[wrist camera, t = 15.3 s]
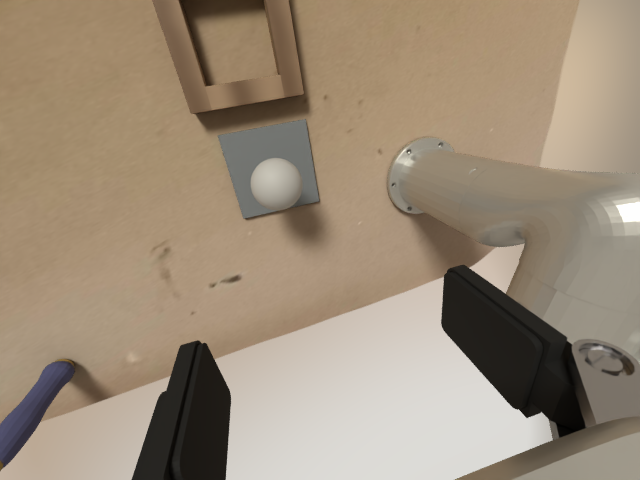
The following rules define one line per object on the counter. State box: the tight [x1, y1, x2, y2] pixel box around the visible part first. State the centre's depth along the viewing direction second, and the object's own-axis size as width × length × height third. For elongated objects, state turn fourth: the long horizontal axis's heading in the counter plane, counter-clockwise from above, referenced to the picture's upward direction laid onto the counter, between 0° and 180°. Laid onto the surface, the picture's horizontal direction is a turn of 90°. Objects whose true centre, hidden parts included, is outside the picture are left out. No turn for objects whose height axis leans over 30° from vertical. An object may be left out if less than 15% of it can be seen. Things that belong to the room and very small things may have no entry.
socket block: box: [152, 0, 304, 114], centre depth 31 cm, size 14×14×2 cm
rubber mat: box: [218, 119, 319, 218], centre depth 39 cm, size 12×12×1 cm
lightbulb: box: [251, 158, 303, 210], centre depth 34 cm, size 6×6×11 cm
